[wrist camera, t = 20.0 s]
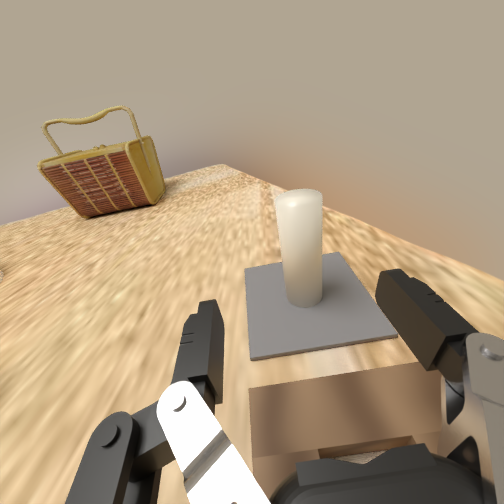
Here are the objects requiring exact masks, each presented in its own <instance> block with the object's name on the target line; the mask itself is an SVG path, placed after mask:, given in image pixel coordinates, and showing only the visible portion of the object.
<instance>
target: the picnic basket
mask: <svg viewBox="0 0 504 504" xmlns="http://www.w3.org/2000/svg"><path fill="white" fill-rule="evenodd" d="M121 109H123V110H125V111H127V112H128V114H129V116H130V118H131V121H132V124H133V127H134V130H135V133H136V136H137V139H135V140H133V141H128V142H123V143H119V144H114V145H109V146H105V145H100V148H98V147H93V149H90V150H86V151H82V150H77V151H73V152H69V153H65V154H63V153H62V152H61V150H60V149H59V147H58V146H57V145H56V143H55V141H54V140H53V139H52V137H51V136H50V135H49V133H48V131H47V126H48V125H50V124H55V123H60V122H63V123H67V124H87V123H91V122H94V121H97V120H99V119H101V118H103V117H104V116H105V115H106V114H107V113H108V112H112V111H115V110H121ZM41 128H42V131H43V133H44V135H45V136H46V138H47V139H48V141H49V142H50V143H51V145H52V146H53V148H54V149H55V150H56V152H57V153H58V156H54V157H51V158H48V159H44V160H41V161H39V162H38V165H37V167H38V170H39V171H40V173H41V174H42V175H43V176H44V177H45V179H46V180H47V181H48V182H49V183H50V184H51V185H52V186H53V187H54V188H55V190H56V191H57V192H58V193H59V194H60V195H61V196H62V197H63V198H64V199H65V200H66V202H67V203H68V204H69V205H70V206H71V207H72V208H73V209H74V210H75V211H76V213H77V214H78V215H80V216H81V217H83V218H90V217H92V216H95V215H100V214H105V213H110V212H115V211H119V210H124V209H129V208H134V207H139V206H144V205H148V204H156V203H157V202H158V200H159V199H160V198H161V196H162V195H163V194H164V192H165V182H164V179H163V175H162V172H161V168H160V165H159V161H158V157H157V153H156V150H155V146H154V143H153V140H152V138H151V137H150V136H144V137H141V135H140V132H139V129H138V126H137V123H136V120H135V117H134V114H133V113H132V111H131V110H130V108H127V107H125V106H115V107H111V108H107V109H105V110H103V111H101V112H99V113H97V114H95V115H93V116H89V117H86V118H80V119H55V120H50V121H47V122H44V123H43V125H42V127H41Z"/></svg>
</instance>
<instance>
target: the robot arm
mask: <svg viewBox="0 0 504 504" xmlns="http://www.w3.org/2000/svg"><path fill="white" fill-rule="evenodd" d="M375 298H376V302H377V304H378V306H379V307H380V309H381V310H382V312H383V313H384V314H385V316H386V317H387V318H388V320H389V321H390V322H391V324H392V325H393V327H394V328H395V329H396V331H397V332H398V333H399V335H400V336H401V337H402V339H403V340H404V341H405V343H406V344H407V346H408V347H409V348H410V350H411V351H412V352H413V354H414V355H415V356H416V358H417V359H418V361H419V362H420V363H421V365H422V366H423V367H424V369H425V370H426V371H433V370H439V371H440V373H441V374H442V377H441V410H442V429H441V434H440V437H439V441H438V448H437V454H434V453H431V452H430V451H429V450H428V448H427V446H426V444H425V443H420V444H414V445H407V446H401V447H394V448H391V449H390V450H388V451H386V452H385V453H383V454H381V455H380V456H378V457H376V458H375V459H373V460H371V461H370V462H368V463H366V464H357V463H351V462H346V461H341V460H335V459H330V458H323V459H317V460H310V461H304V462H297V463H295V464H296V471H294V472H292V473H291V474H289V475H288V476H287V477H286V478H285V479H283V480H282V482H281V483H280V484H279V485H278V486H277V487H276V489H275V490H274V492H273V493H272V495H271V497H270V499H269V500H268V499H267V497H266V496H265V494H264V492H263V491H262V489H261V488H260V486H259V485H258V483H257V482H256V480H255V479H254V477H253V476H252V474H251V472H250V471H249V469H248V468H247V466H246V465H245V463H244V462H243V460H242V459H241V457H240V456H239V454H238V452H237V451H236V449H235V448H234V446H233V445H232V443H231V442H230V440H229V439H228V437H227V436H226V434H225V433H224V431H223V430H222V428H221V427H220V425H219V424H218V422H217V421H216V419H215V417H214V414H215V404H221V403H222V400H223V366H224V322H223V318H222V315H221V313H220V310H219V307H218V304H217V301H216V300H215V299H213V300H208V301H202V302H200V303H199V307H198V313H197V314H191V315H190V316H189V318H188V319H187V321H186V322H185V324H184V327H183V332H182V337H181V341H180V346H179V351H178V355H177V360H176V365H175V369H174V374H173V379H172V382H171V384H170V386H169V387H168V388H167V389H166V390H165V392H164V393H163V394H162V396H161V398H160V399H159V400H158V401H157V402H155V403H153V404H152V405H150V406H148V407H146V408H144V409H142V410H140V411H138V412H137V413H135V414H133V415H131V416H130V415H129V414H128V413H126V412H122V411H121V412H116V413H113V414H111V415H110V416H108V417H107V418H105V419H104V420H103V421H102V422H101V423H100V424H99V425H98V426H97V428H96V429H95V430H94V432H93V433H92V435H91V437H90V439H89V442H88V444H87V447H86V450H85V452H84V455H83V457H82V460H81V463H80V465H79V468H78V471H77V473H76V476H75V479H74V481H73V484H72V486H71V489H70V492H69V494H68V497H67V500H66V502H65V504H157V499H158V492H159V485H160V478H161V471H162V467H164V466H165V465H167V464H168V463H170V462H172V461H173V460H175V459H177V461H178V463H179V466H180V468H181V470H182V473H183V476H184V486H185V489H186V492H187V495H188V497H189V500H190V502H191V504H504V340H502V339H500V338H498V337H496V336H493V335H490V334H486V333H480V332H478V331H477V330H476V329H475V328H474V327H473V326H472V325H470V324H469V323H468V322H467V321H466V320H465V319H464V318H463V317H462V316H461V315H460V314H458V313H457V312H456V311H455V310H454V309H453V308H452V307H451V306H450V305H449V304H447V303H446V302H444V300H443V299H442V298H441V297H440V296H439V295H436V293H435V292H434V291H433V290H432V289H431V288H430V287H429V286H428V285H427V284H425V283H423V282H421V281H420V280H418V279H416V278H414V277H412V278H410V277H409V276H408V275H407V274H406V273H405V272H404V271H402V270H401V269H392V270H386V271H382V272H380V275H379V279H378V284H377V288H376V293H375Z"/></svg>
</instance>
